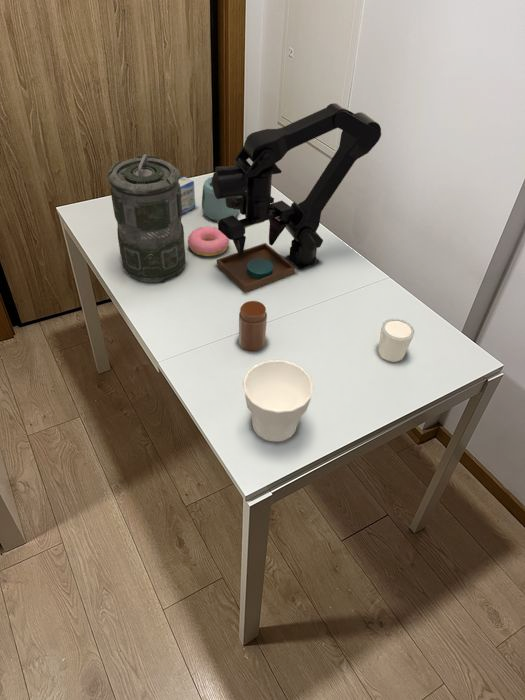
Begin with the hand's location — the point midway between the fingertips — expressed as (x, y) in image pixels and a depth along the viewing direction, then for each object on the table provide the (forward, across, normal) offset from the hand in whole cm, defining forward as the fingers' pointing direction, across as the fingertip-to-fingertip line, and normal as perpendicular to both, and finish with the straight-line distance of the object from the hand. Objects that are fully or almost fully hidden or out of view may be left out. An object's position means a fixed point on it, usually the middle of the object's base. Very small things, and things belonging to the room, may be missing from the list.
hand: (255, 249), depth 132 cm
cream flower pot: (+6, +25, +43) cm, 50 cm away
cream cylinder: (+6, -8, +41) cm, 42 cm away
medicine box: (+6, +2, -36) cm, 37 cm away
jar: (+6, +16, +22) cm, 28 cm away
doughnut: (+6, +5, -15) cm, 17 cm away
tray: (+6, 0, 0) cm, 6 cm away
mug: (+6, -8, -30) cm, 32 cm away
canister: (+6, +21, -15) cm, 26 cm away
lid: (+4, 0, +2) cm, 5 cm away
